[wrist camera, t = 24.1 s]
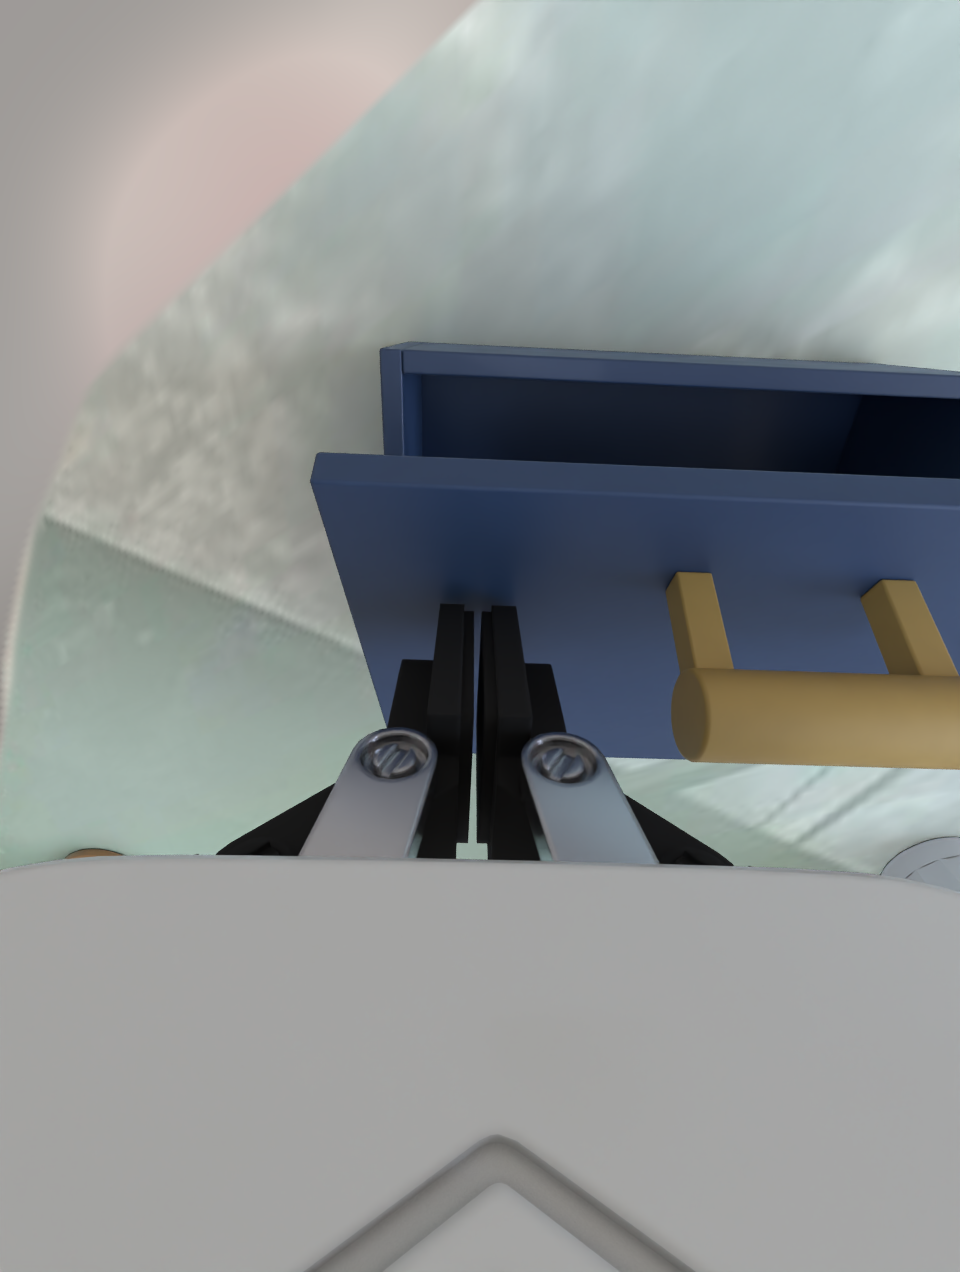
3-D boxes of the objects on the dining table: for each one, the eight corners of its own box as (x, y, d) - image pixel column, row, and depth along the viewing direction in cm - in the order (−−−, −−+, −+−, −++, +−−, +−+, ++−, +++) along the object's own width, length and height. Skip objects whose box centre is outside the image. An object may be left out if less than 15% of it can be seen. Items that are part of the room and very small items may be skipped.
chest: (406, 341, 20) (379, 348, 15) (878, 363, 21) (1032, 378, 15) (413, 647, 27) (395, 736, 21) (772, 659, 27) (851, 749, 22)
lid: (315, 449, 9) (257, 690, 7) (1356, 493, 9) (1605, 732, 7) (395, 733, 21) (383, 854, 19) (854, 747, 21) (894, 866, 19)
